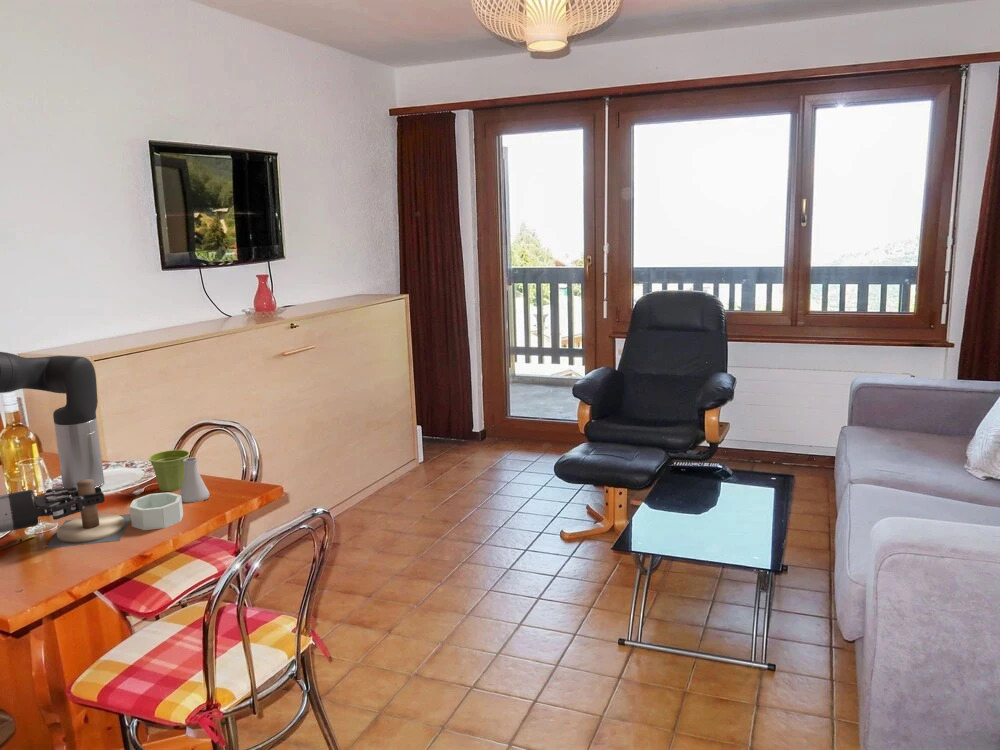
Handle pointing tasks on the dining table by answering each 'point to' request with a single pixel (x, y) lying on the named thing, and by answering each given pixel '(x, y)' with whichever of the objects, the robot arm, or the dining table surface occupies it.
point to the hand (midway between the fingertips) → (102, 494)
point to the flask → (193, 483)
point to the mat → (116, 537)
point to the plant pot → (169, 468)
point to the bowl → (156, 511)
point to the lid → (90, 521)
